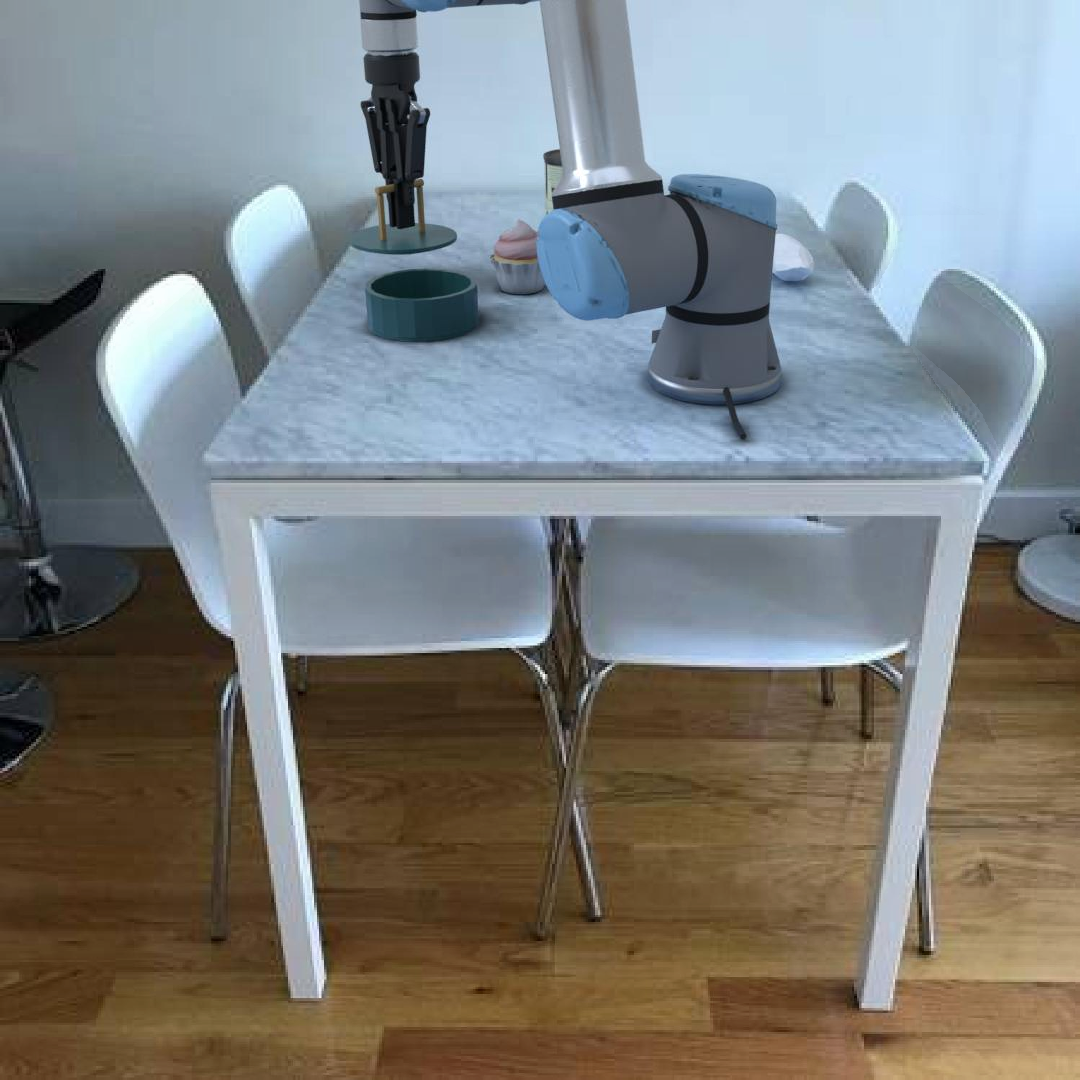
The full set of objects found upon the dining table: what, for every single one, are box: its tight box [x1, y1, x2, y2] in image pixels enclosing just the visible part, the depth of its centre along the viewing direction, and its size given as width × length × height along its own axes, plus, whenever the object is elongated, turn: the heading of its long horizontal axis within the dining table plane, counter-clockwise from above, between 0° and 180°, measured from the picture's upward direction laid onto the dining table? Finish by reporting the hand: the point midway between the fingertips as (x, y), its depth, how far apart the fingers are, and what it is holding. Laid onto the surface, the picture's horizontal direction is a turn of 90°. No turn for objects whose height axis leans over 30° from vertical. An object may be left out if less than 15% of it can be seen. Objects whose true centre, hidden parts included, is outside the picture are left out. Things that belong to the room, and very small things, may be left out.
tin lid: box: [348, 178, 458, 256], centre depth 177 cm, size 16×16×9 cm
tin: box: [364, 267, 480, 343], centre depth 163 cm, size 15×15×6 cm
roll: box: [772, 233, 815, 282], centre depth 178 cm, size 6×12×6 cm, turn 7°
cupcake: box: [488, 218, 546, 295], centre depth 176 cm, size 9×9×10 cm
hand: (402, 226), depth 178 cm, fingers closed on tin lid
